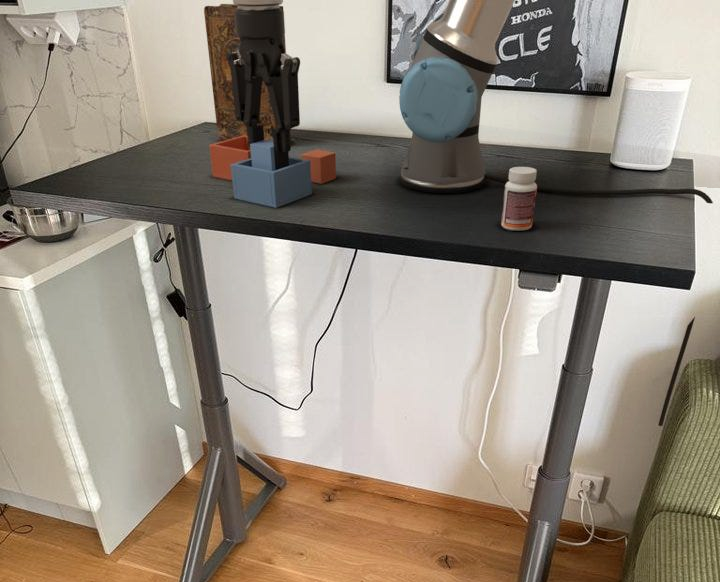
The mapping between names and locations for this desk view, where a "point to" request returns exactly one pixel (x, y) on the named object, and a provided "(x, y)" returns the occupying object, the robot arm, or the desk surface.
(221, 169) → the clay bin
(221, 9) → the book
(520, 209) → the pill bottle
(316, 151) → the clay block
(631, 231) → the desk surface
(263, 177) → the blue bin
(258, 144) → the blue block
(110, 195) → the desk surface
